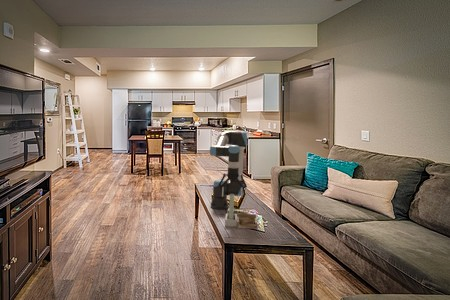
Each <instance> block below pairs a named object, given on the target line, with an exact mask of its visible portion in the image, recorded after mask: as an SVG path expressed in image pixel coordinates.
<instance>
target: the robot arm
mask: <svg viewBox="0 0 450 300" xmlns="http://www.w3.org/2000/svg"><path fill="white" fill-rule="evenodd" d="M226 145H228V146H226ZM248 145H249V144H248V135H247V132H246V131H242V130H241V131H239V130H226V131H223V132H221V133H219V135H218V136H217V138H216V142H215V144H214V145H211V146H210V147H209V155H210V156H212V157H228V158H227V159H228V160H227V173H223V175H222V177H221V179H220V178H219V179H215V180H214V181H213V185H212V187H213V189H212V199H211V202H210V208H212V209H216V210H226V209H229V202H228V196H230V194H234V197H240V198H243V196H244V193H245V189H246V188H247V186H248V185H247V184H246V181H245V179H244V175H243V173H244V171H243V169H244V154H245V153H244V151H245V149H246V148H247V146H248ZM226 177H227V178H226Z"/></svg>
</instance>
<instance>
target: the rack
mask: <svg viewBox="0 0 450 300" xmlns="http://www.w3.org/2000/svg"><path fill="white" fill-rule="evenodd" d="M236 214H237V227H236V228H237V229H252V228H257V229H258V220H257V219H258V218H257V214H255V213H241V212H239V213H236ZM244 218H250V219H251V220H253V222H254V223H255V224H254V225H240V224H239V223H240V222H239V221H241V219H244Z"/></svg>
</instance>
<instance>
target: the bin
mask: <svg viewBox="0 0 450 300" xmlns="http://www.w3.org/2000/svg"><path fill="white" fill-rule="evenodd" d="M224 227H225V228H227V227H229V228H237V213H233V220H232V219H229V213H225V218H224Z"/></svg>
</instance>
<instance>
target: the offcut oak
mask: <svg viewBox="0 0 450 300" xmlns="http://www.w3.org/2000/svg"><path fill="white" fill-rule="evenodd" d="M241 221H242V222H249V221H251V219H250V218H244V219H241Z"/></svg>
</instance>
